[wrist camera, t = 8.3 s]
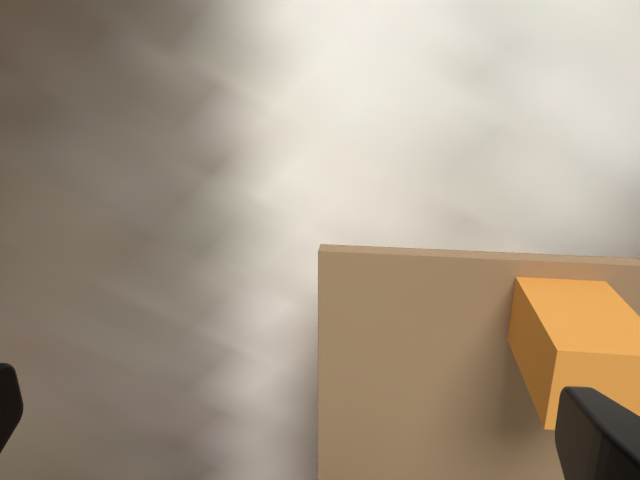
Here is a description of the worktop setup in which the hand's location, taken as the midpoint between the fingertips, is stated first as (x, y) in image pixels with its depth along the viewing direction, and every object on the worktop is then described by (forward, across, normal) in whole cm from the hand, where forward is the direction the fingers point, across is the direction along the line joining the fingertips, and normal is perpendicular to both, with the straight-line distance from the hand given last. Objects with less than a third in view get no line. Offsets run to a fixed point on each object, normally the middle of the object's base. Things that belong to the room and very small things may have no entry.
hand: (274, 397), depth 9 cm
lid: (+8, -6, +8) cm, 13 cm away
